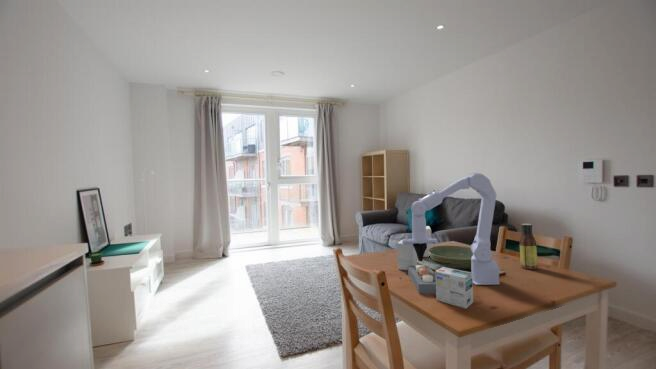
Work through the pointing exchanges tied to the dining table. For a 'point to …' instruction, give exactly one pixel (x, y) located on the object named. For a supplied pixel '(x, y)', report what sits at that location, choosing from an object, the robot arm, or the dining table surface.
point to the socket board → (418, 281)
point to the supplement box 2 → (428, 235)
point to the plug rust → (423, 271)
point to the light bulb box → (454, 287)
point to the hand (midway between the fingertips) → (420, 260)
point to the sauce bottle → (528, 248)
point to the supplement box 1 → (406, 256)
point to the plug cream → (427, 278)
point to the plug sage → (419, 267)
